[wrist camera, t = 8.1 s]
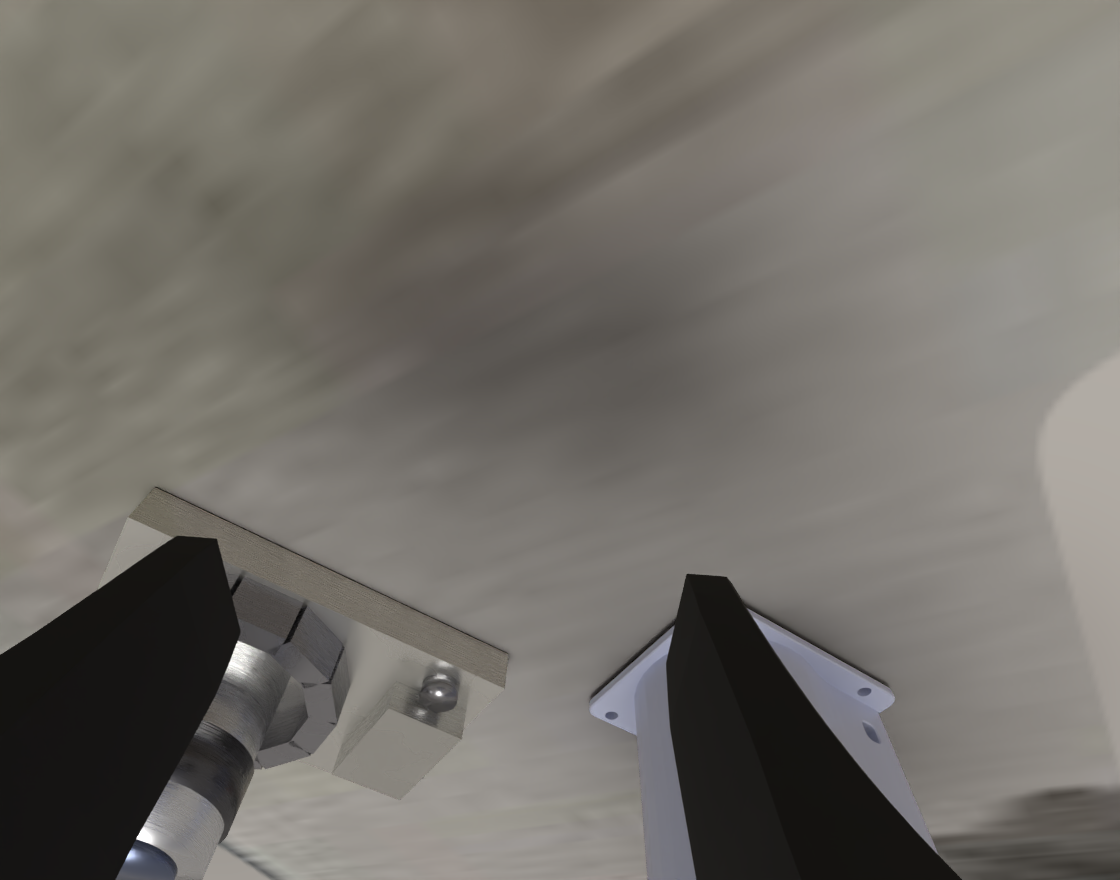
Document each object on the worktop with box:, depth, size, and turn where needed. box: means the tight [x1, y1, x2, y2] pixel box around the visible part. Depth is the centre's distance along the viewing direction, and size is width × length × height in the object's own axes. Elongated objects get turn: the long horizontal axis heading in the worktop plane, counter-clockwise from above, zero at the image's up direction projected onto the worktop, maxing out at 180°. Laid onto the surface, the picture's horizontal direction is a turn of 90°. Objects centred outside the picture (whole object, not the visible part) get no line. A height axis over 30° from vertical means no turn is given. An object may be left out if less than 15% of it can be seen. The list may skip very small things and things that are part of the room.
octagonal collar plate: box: [97, 487, 509, 800], centre depth 25 cm, size 14×9×3 cm, turn 56°
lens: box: [116, 641, 291, 880], centre depth 22 cm, size 5×5×7 cm
